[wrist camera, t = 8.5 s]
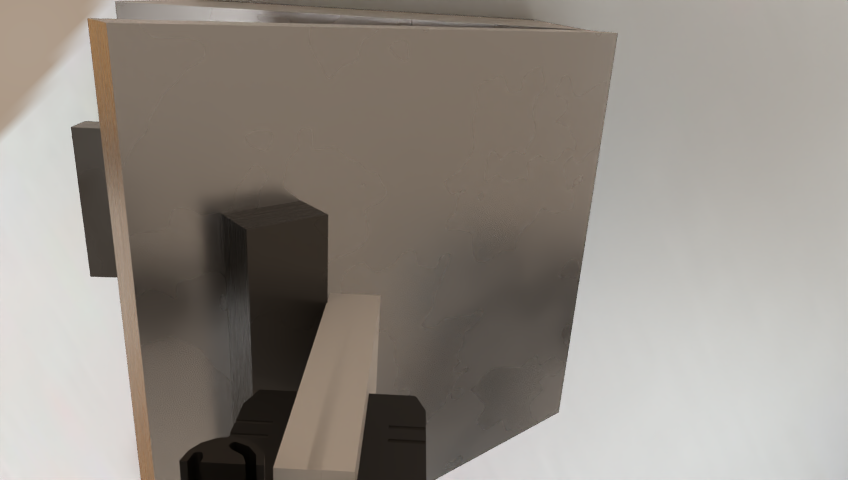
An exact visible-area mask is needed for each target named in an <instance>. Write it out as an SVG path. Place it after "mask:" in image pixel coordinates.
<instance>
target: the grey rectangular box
mask: <svg viewBox="0 0 848 480" xmlns="http://www.w3.org/2000/svg"><path fill="white" fill-rule="evenodd" d="M115 4H116V14H117V19H137V20H179V21H221V22H263V23H305V24H347V25H389V26H431V27H473V28H515V29H557V30H584V29H579V28H574V27H569V26H563V25H558V24H553V23H548V22H542V21H537V20H527V19H511V18H495V17H478V16H462V15H446V14H429V13H413V12H396V11H380V10H364V9H347V8H331V7H315V6H298V5H282V4H266V3H249V2H233V1H216V0H146V1H115ZM71 131H72V139H73V147H74V154H75V162H76V169H77V177H78V185H79V192H80V200H81V207H82V215H83V223H84V230H85V238H86V245H87V253H88V261H89V268H90V276H91V277H117V269H116V260H115V251H114V243H113V234H112V225H111V217H110V208H109V200H108V191H107V182H106V174H105V165H104V156H103V148H102V139H101V131H100V122H92V121H84V122H82V123H80V124H77V125H75V126H73V127H71Z"/></svg>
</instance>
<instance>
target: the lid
mask: <svg viewBox="0 0 848 480" xmlns="http://www.w3.org/2000/svg"><path fill="white" fill-rule="evenodd" d="M88 27H89V36H90V44H91V53H92V62H93V70H94V79H95V87H96V96H97V105H98V113H99V122H100V131H101V139H102V148H103V156H104V165H105V174H106V182H107V191H108V200H109V208H110V217H111V225H112V234H113V243H114V251H115V260H116V269H117V277H118V286H119V295H120V303H121V312H122V320H123V329H124V338H125V346H126V355H127V364H128V372H129V381H130V389H131V398H132V407H133V415H134V424H135V433H136V441H137V450H138V458H139V467H140V476H141V480H181V477H180V465H179V460H180V459H181V458H182V457H183V456H184V455H185V453H186V452H187V451H188V450H190V449H191V448H193V447H195V446H196V445H198V444H200V443H202V442H205V441H208V440H212V439H215V438H222V437H228V436H230V432H231V430H232V427H233V425H234V423H236V419H237V416H238V414H239V412H240V410H241V408H242V405H243V403H244V402H245V401H247V400H248V399H249V398H250V397H251V396H253V395H254V394H255V393H256V392H257V391H259V390H260V389H261V390H279V391H298V389H299V386H300V383H301V380H302V377H303V374H304V371H305V368H306V365H307V362H308V359H309V356H310V353H311V349H312V346H313V343H314V340H315V337H316V334H317V331H318V328H319V325H320V322H321V319H322V316H323V312H324V309H325V306H326V303H328V297H329V294H330V293H343V294H363V295H380V315H379V338H378V361H377V384H376V394H390V395H409V396H416V397H417V398H418V400H419V401H420V403H421V404H422V406H423V407H424V409H425V410H426V480H435V479H437V478H439V477H441V476H443V475H444V474H446V473H448V472H450V471H452V470H454V469H455V468H457V467H459V466H461V465H463V464H465V463H466V462H468V461H470V460H472V459H474V458H476V457H477V456H479V455H481V454H483V453H485V452H487V451H488V450H490V449H492V448H494V447H496V446H498V445H499V444H501V443H503V442H505V441H507V440H509V439H510V438H512V437H514V436H516V435H518V434H520V433H521V432H523V431H525V430H527V429H529V428H531V427H533V426H534V425H536V424H538V423H540V422H542V421H544V420H545V419H547V418H549V417H551V416H553V415H555V414H556V413H558V412H559V407H560V400H561V394H562V388H563V381H564V375H565V368H566V362H567V356H568V349H569V343H570V336H571V330H572V323H573V317H574V311H575V304H576V298H577V291H578V285H579V279H580V272H581V266H582V259H583V253H584V246H585V240H586V234H587V227H588V221H589V214H590V208H591V202H592V195H593V189H594V182H595V176H596V169H597V163H598V157H599V150H600V144H601V137H602V131H603V125H604V118H605V112H606V105H607V99H608V92H609V86H610V80H611V73H612V67H613V60H614V54H615V48H616V41H617V35H618V33H612V32H601V31H591V30H557V29H515V28H473V27H431V26H389V25H347V24H305V23H263V22H221V21H179V20H137V19H95V18H88Z"/></svg>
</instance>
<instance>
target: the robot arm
mask: <svg viewBox="0 0 848 480" xmlns="http://www.w3.org/2000/svg"><path fill="white" fill-rule="evenodd" d="M379 315H380V295H363V294H343V293H330V294H329V297H328V303H326V306H325V309H324V312H323V316H322V319H321V322H320V325H319V328H318V331H317V334H316V337H315V340H314V343H313V346H312V349H311V353H310V356H309V359H308V362H307V365H306V368H305V371H304V374H303V377H302V380H301V383H300V386H299V389H298V391H279V390H261V389H260V390H259V391H257V392H256V393H255V394H254V395H253V396H251V397H250V398H249V399H248V400H247V401H245V402H244V403H243V405H242V408H241V410H240V412H239V414H238V416H237V419H236V423H234V425H233V427H232V430H231V432H230V436H228V437H222V438H215V439H212V440H208V441H205V442H202V443H200V444H198V445H196V446H195V447H193V448H191V449H190V450H188V451H187V452H186V453H185V455H184V456H183V457H182V458H181V459H180V460H179V465H180V477H181V480H426V410H425V409H424V407H423V406H422V404H421V403H420V401H419V400H418V398H417V397H416V396H409V395H390V394H376V384H377V361H378V338H379Z"/></svg>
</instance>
